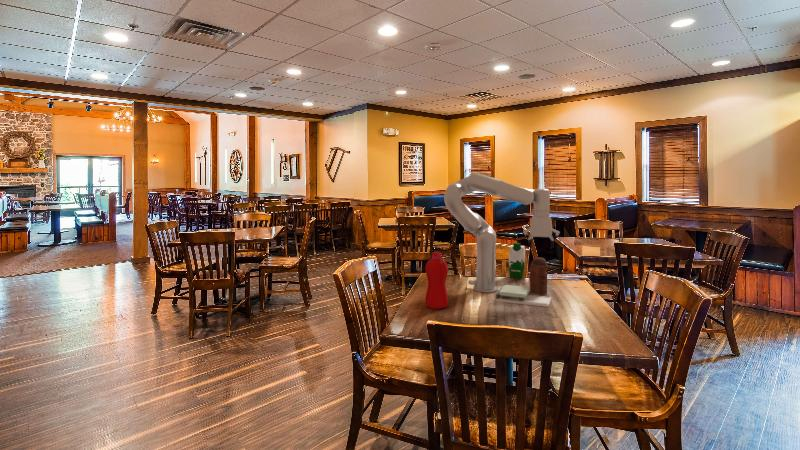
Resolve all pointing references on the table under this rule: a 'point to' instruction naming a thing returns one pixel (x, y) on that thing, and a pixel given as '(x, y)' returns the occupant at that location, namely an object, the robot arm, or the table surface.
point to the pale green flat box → (514, 291)
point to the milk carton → (516, 260)
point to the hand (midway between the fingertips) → (541, 248)
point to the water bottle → (436, 282)
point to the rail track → (525, 300)
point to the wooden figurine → (538, 276)
